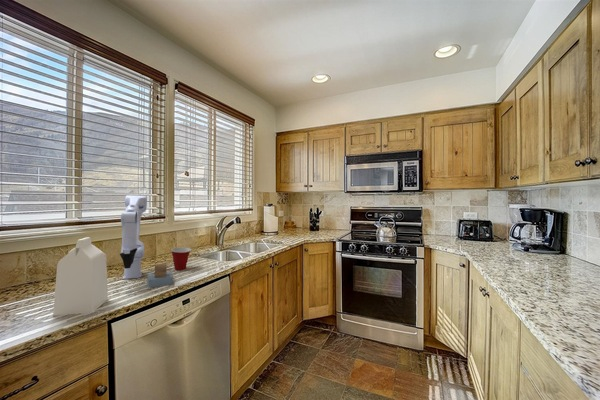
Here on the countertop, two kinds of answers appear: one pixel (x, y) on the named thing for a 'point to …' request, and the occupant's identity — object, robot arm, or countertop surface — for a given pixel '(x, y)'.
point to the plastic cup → (180, 257)
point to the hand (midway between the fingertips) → (128, 266)
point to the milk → (81, 280)
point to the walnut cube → (160, 270)
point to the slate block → (159, 280)
